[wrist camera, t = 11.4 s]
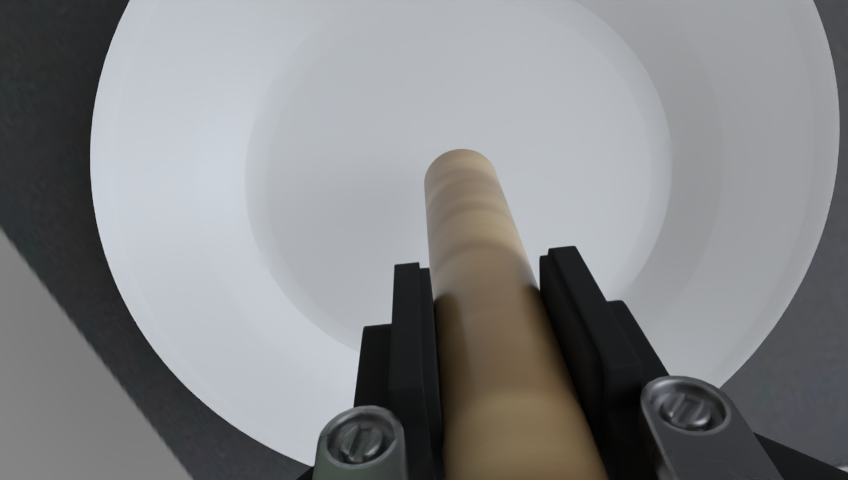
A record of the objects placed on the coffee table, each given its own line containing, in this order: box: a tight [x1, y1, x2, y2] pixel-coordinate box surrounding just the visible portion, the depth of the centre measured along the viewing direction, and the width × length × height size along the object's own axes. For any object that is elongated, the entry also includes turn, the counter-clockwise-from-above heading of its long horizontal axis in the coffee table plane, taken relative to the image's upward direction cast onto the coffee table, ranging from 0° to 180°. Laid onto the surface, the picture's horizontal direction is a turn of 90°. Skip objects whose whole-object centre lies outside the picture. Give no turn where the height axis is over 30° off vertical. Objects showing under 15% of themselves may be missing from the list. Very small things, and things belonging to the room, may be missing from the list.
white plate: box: [90, 0, 839, 467], centre depth 21 cm, size 25×25×4 cm
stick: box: [424, 149, 610, 480], centre depth 13 cm, size 2×2×13 cm
